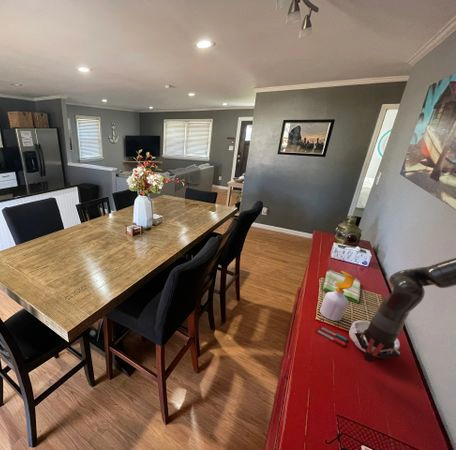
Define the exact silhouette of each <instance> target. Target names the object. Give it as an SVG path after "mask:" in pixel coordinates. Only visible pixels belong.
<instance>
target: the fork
mask: <svg viewBox="0 0 456 450" xmlns="http://www.w3.org/2000/svg"><path fill="white" fill-rule="evenodd" d="M320 330H321V331H323V332H325V333H327V334H330V335H331V336H334V337H336V338H338V339H339V340H341V341H343V342H345V343H347V341H348V338H347V337H345V336H344V335H341V334H339V333H338V332H336V333H334V332H333V331H331V330H330V329H327V328H325V327H323V326H322V327H321V329H320Z"/></svg>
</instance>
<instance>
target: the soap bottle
mask: <svg viewBox="0 0 456 450" xmlns="http://www.w3.org/2000/svg"><path fill="white" fill-rule="evenodd" d="M340 273H341V274H342V275H345V276H346V277H345V279H344V281H343V282H341V283H335V285H337V286H338V288H336V290H335V292H326V293H325V295H324V297H323V300H322V303H321V306H320V308H319V312H320V314H321V315H322V316H323V317H324V318H326V319H328V320H330V321H333V322H339V321H341V320H342V319H343V316H344V314H345V311H346V310H347V307H348V305H349V299H347V298H346V297H345V296H344V295H343V294H344V290H343V289H348V288H351V287H352V285H353V282H354V280H355V279H356V278H355V277H354V276H352V275H351V274H350V273H348V272H346V271H343V270H340Z"/></svg>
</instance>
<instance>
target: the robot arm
mask: <svg viewBox="0 0 456 450" xmlns="http://www.w3.org/2000/svg"><path fill="white" fill-rule="evenodd" d="M388 283H389V285H390V287H391V290H392V291H391V294H390V295H389V296H384V298H383V299H382V300H381V302H380V304H379V306H378V308H377V310H376V311H375V313H374V314H373V317H372V318H371V320H370V321H369V322H370V324H369V326H368V328H367V329H366V330H365V331H364V332H362V331H359V330H357V331H356V333H355V335H356V337H357V339H358V341H359V343H360V345H361V347H362V348H363V349H365V350H366V353H365V352H364V355H363V358H364V360H365V361H366V362H369V363H373V362H374V361H375V359H376V358H380V359H391V358H399V357H400V354H401V351H400V350H399V349H398V350H397V349H396V348H395V347H394V346H395V344H394V342H395V340H396V339H398V337H399V335H400V333H401V332H402V329H403V328H404V325H405V322H406V320H407V319H408V316H409V315H410V312H411V311H413V310H414V309H415V308H416V307H417V306H418V305H420V304H421V302H422V301H423V299H424V297H425V293H426V292H425V291H426V290H425V287H428V286H435V287H437V288H440V289H447V288H453V287H456V257H453V258H450V259H447V260H443V261H439V262H438V263H435V264H431V265H429V266H421V267H420V266H419V267H415V268H408V269H402V270H399V271H397V272H395V273H393V274H391V275H390V277H389V278H388ZM364 336H365V338H366V340H367V342H368V343H369V345H367V344H366V342H365V340H364V338H363V337H364ZM373 346H374V347H375V349H374V350H373V351H372V348H373ZM387 349H390V351H382V352H380V351H381V350H387ZM371 352H372V353H371ZM376 356H378V357H376Z"/></svg>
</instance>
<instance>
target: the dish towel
mask: <svg viewBox="0 0 456 450" xmlns="http://www.w3.org/2000/svg"><path fill="white" fill-rule="evenodd" d="M345 277H346V275H345V274H343V273H341V272H336V271H334V270H332V269H329V270H327V271H326V273H325V277H324V282H323V285H322V286H323V287H322V290H323V291H326V293H328V292H335V290H336V288H338V286H337V285H335V283H341V282H343V281H344V279H345ZM343 290H344V294H343V295H344V296H345V297H346V298H347V300H348V301H352V302H354V303H356V304H358V303H360V297H361V280H359V279H357V278H355V280H354V282H353V285H352V287H351V288H348V289H343Z"/></svg>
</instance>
